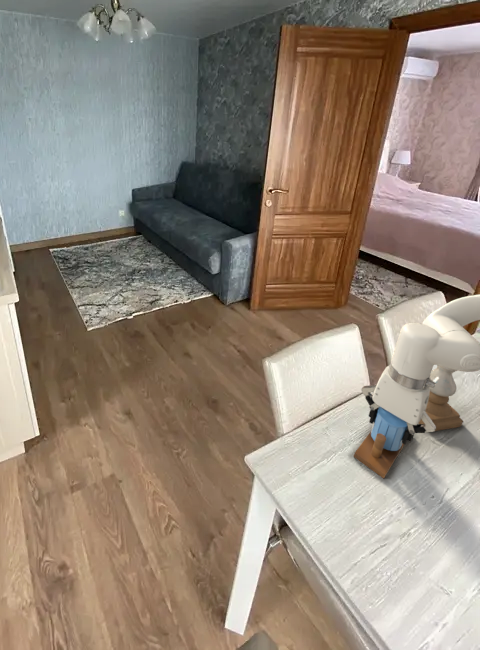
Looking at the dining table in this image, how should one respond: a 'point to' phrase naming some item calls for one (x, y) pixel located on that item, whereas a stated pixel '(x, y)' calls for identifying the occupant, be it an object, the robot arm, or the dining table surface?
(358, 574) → the dining table surface
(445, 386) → the candle holder
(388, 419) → the cup
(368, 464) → the rack
